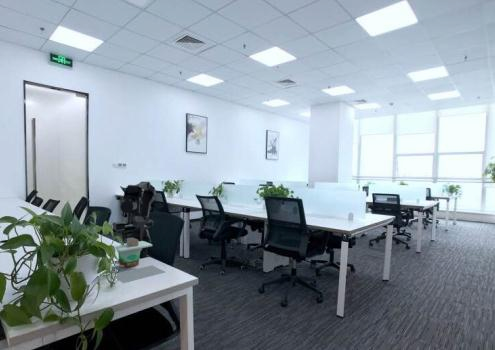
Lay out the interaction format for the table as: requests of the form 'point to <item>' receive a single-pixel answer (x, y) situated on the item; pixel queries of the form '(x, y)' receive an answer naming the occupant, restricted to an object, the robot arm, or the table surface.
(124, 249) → the lid
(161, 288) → the table surface
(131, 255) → the food container
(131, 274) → the mat
